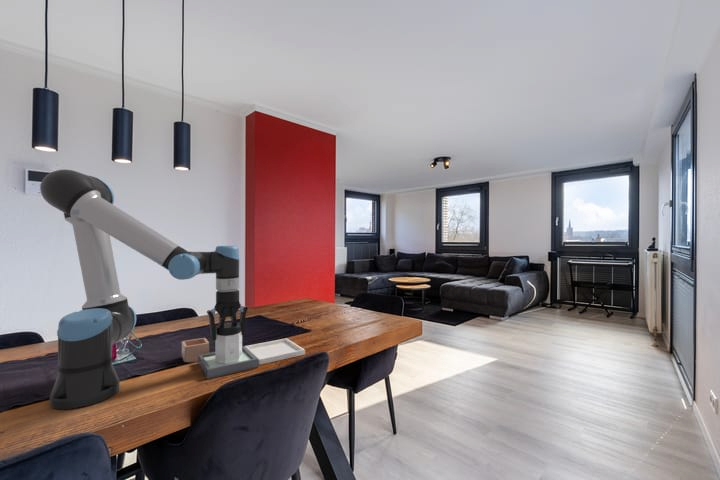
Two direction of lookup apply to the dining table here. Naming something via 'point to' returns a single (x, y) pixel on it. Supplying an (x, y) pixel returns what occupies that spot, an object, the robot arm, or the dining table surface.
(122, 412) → the dining table surface
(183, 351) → the cup
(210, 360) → the plate
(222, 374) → the block
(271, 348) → the tray
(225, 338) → the jar
